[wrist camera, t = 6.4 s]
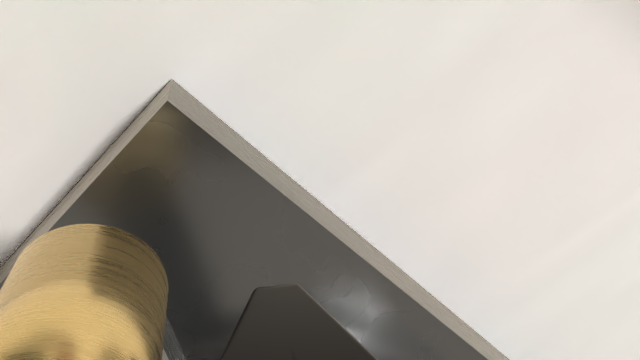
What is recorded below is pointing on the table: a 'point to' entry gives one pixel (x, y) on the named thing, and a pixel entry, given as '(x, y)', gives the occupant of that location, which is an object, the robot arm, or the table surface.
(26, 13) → the table surface
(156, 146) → the cap housing
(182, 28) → the table surface
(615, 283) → the table surface
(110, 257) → the grey rounded piece
